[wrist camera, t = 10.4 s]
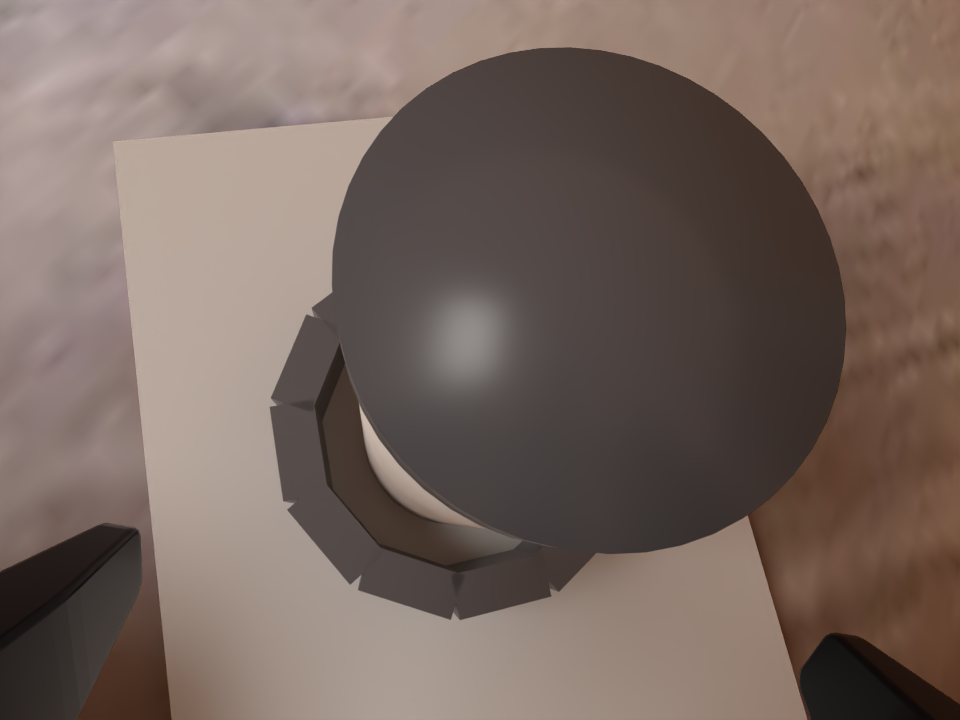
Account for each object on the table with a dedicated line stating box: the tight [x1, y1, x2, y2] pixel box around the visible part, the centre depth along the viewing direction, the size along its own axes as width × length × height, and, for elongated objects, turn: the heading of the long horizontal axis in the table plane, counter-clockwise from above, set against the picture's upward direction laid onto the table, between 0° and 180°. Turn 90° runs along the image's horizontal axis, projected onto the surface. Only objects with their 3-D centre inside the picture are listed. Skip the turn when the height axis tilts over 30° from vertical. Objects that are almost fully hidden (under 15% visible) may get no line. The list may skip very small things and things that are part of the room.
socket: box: [113, 117, 807, 720], centre depth 17 cm, size 20×16×3 cm
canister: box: [332, 48, 846, 554], centre depth 12 cm, size 5×5×12 cm
